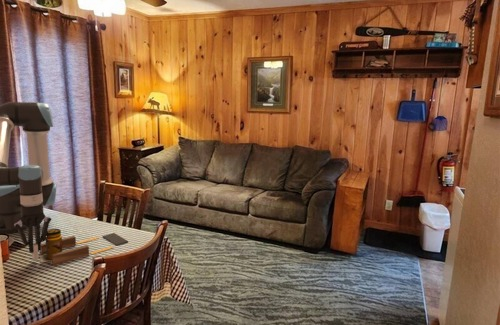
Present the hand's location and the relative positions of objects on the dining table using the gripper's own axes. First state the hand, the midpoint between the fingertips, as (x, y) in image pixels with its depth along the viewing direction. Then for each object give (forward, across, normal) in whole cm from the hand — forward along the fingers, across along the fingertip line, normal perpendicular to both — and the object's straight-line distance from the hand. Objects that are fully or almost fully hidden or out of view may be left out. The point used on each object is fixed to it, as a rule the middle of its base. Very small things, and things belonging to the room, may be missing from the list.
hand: (35, 258), depth 136 cm
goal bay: (+1, +24, 0) cm, 24 cm away
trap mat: (+1, +34, 0) cm, 34 cm away
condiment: (+2, +6, 0) cm, 6 cm away
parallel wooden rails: (+1, +11, 0) cm, 11 cm away
